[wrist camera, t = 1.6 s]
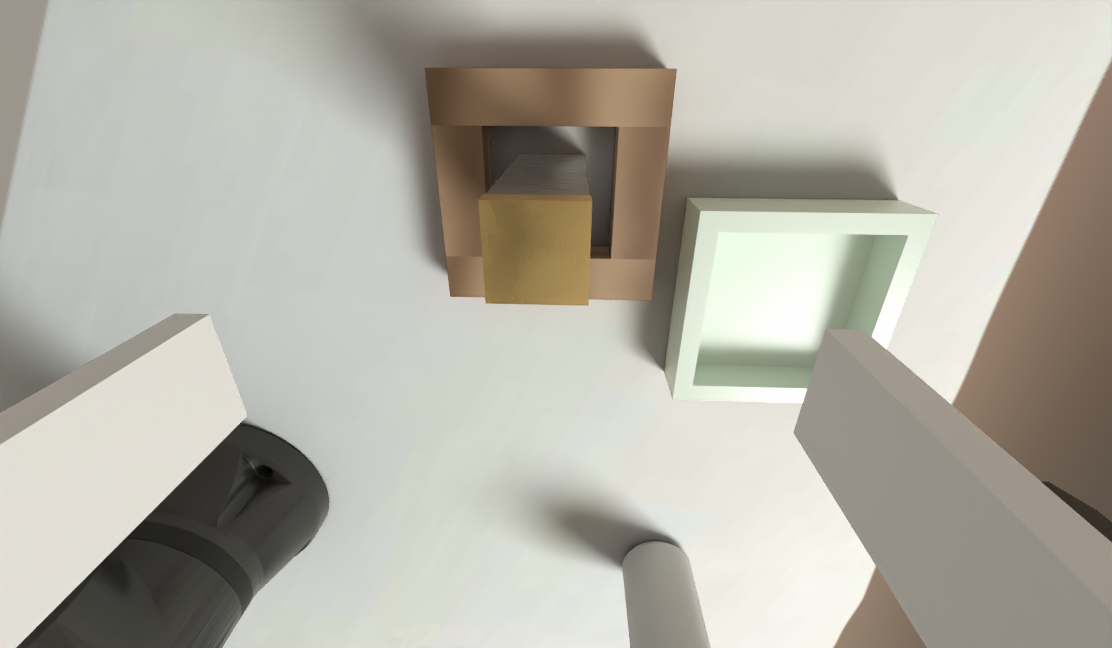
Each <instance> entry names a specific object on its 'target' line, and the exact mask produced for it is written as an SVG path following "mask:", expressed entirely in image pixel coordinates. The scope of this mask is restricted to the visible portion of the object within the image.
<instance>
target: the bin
mask: <svg viewBox="0 0 1112 648" xmlns="http://www.w3.org/2000/svg"><path fill="white" fill-rule="evenodd" d="M938 215H939V214H937V213H934V212H931V211H928V210H925V209H923V208H920V207H917V206H914V205H911V204H908V203H906V202H903V201H900V200H843V199H763V198H687V203H686V211H685V218H684V226H683V233H682V241H681V248H680V256H679V263H678V271H677V278H676V286H675V293H674V301H673V308H672V316H671V323H670V331H669V338H668V346H667V353H666V361H665V368H664V373H665V376H666V380H667V383H668V386H669V389H670V393H671V396H672V399H673V400H709V401H747V402H785V403H803V401H804V397H805V394H806V391H807V388H808V385H809V381H810V378H811V375H812V372H813V369H814V365H815V362H816V359H817V356H818V353H819V349H820V346H821V343H822V340H823V337H824V333H825V330H826V329H847V330H864V331H866V332H867V333H868V334H869V335H870V336H871V337H873V338H874V339H875V340H876V341H877V342H878V343H880V344H881V345H882V346H883V347H884V348H885V349H887V346H888V344H889V341H890V339H891V336H892V333H893V331H894V328H895V326H896V323H897V321H898V318H899V315H900V313H901V310H902V308H903V305H904V302H905V300H906V297H907V295H908V292H909V290H910V287H911V284H912V282H913V279H914V277H915V274H916V271H917V269H918V266H919V264H920V261H921V259H922V256H923V253H924V251H925V248H926V246H927V243H928V240H929V238H930V235H931V233H932V230H933V228H934V225H935V222H936V220H937V217H938Z"/></svg>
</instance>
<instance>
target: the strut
mask: <svg viewBox="0 0 1112 648" xmlns="http://www.w3.org/2000/svg"><path fill="white" fill-rule="evenodd" d="M478 203H479V217H480V231H481V245H482V258H483V272H484V286H485V300H486V303H494V304H543V305H588V298H589V273H590V248H591V223H592V195H590V191H589V183H588V175H587V167H586V159H585V154H519V155H518V156H517V157H516V158H515V160H514V161H513V162H512V163H511V164H510V166H509V167H508V168H507V169H506V170H505V172H504V173H503V174H502V175H501V176H500V178H499V179H498V180H497V181H496V182H495V184H494V185H493V186H492V187H491V188H490V190H489V191H488V192H487V193H486V194H483V195H482V196H481V197H480V198H479V200H478Z"/></svg>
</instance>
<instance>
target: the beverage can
mask: <svg viewBox="0 0 1112 648" xmlns="http://www.w3.org/2000/svg"><path fill="white" fill-rule="evenodd" d="M622 568H623V578H624V588H625V598H626V608H627V618H628V628H629V638H630V648H710V643H709V639H708V635H707V631H706V627H705V623H704V619H703V615H702V611H701V606H700V602H699V598H698V594H697V590H696V586H695V582H694V578H693V573H692V569H691V565H690V561H689V558H688V556H687V555H686V553H685V552H684V551H683V550H681V549H680V548H678V547H677V546H674V545H672V544H669V543H666V542H661V541H649V542H644V543H641V544H639V545H637V546H635V547H634V548H633V549H632V550H631V551H630V552H629V553H628V554H627V555H626V556H625V558H624V560H623V565H622Z"/></svg>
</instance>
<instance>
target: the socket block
mask: <svg viewBox="0 0 1112 648" xmlns="http://www.w3.org/2000/svg"><path fill="white" fill-rule="evenodd" d="M676 71H677V69H602V68H425V72H426V81H427V90H428V99H429V108H430V117H431V126H432V135H433V145H434V154H435V163H436V172H437V181H438V190H439V199H440V208H441V217H442V226H443V235H444V244H445V253H446V262H447V271H448V280H449V289H450V297H485V286H484V272H483V258H482V245H481V231H480V217H479V203H478V200H479V198H480V197H481V196H482V195H483V194H486V193H487V192H488V191H489V190H490V188H491V187H492V186H493V184H492V167H491V149H490V132H489V126H592V127H615V143H614V160H613V177H612V194H611V211H610V228H609V245H608V246H591V248H590V273H589V298H588V299H600V300H652V291H653V282H654V273H655V264H656V254H657V245H658V236H659V227H660V218H661V209H662V199H663V190H664V181H665V172H666V163H667V154H668V144H669V135H670V126H671V117H672V108H673V99H674V89H675V80H676Z"/></svg>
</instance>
